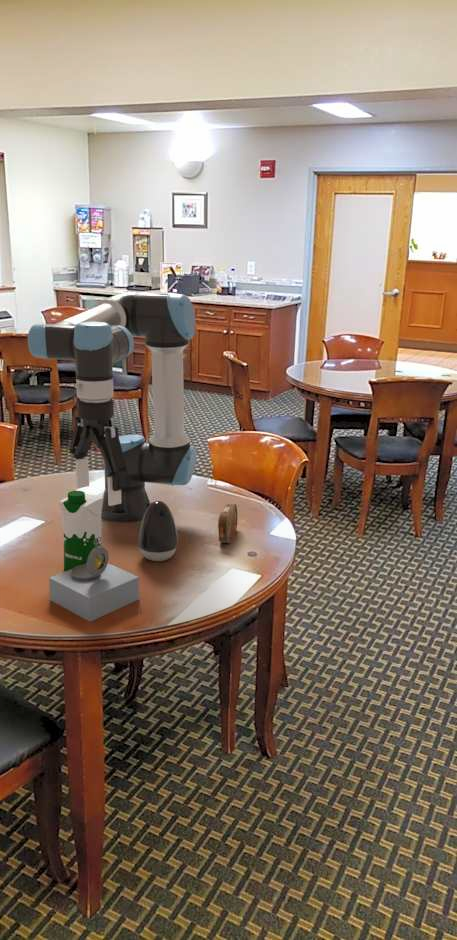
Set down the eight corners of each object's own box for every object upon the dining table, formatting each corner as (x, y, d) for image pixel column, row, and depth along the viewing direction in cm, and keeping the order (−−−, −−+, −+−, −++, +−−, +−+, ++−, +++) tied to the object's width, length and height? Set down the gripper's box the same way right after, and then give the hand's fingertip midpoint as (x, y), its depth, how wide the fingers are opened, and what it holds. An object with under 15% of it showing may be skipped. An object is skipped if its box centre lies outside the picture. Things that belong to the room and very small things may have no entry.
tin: (227, 548, 193) (228, 518, 190) (216, 547, 193) (216, 517, 191) (238, 527, 207) (239, 500, 204) (227, 526, 207) (228, 499, 205)
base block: (50, 601, 163) (49, 577, 161) (99, 582, 173) (98, 558, 171) (89, 623, 154) (89, 598, 152) (139, 601, 164) (138, 577, 162)
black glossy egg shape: (147, 568, 179) (146, 511, 175) (132, 553, 188) (131, 498, 183) (184, 561, 184) (185, 505, 179) (168, 546, 193) (168, 492, 188)
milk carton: (58, 570, 177) (54, 493, 171) (80, 557, 185) (77, 482, 179) (88, 577, 174) (85, 499, 168) (109, 563, 182) (107, 488, 176)
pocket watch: (73, 568, 166) (71, 527, 162) (110, 568, 166) (109, 527, 163) (67, 584, 158) (65, 542, 155) (106, 584, 158) (105, 542, 155)
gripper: (50, 390, 157) (55, 483, 163) (110, 412, 138) (113, 516, 145) (81, 386, 161) (85, 477, 168) (143, 407, 143) (144, 508, 149)
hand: (98, 495), depth 156 cm, fingers open, 13 cm apart
